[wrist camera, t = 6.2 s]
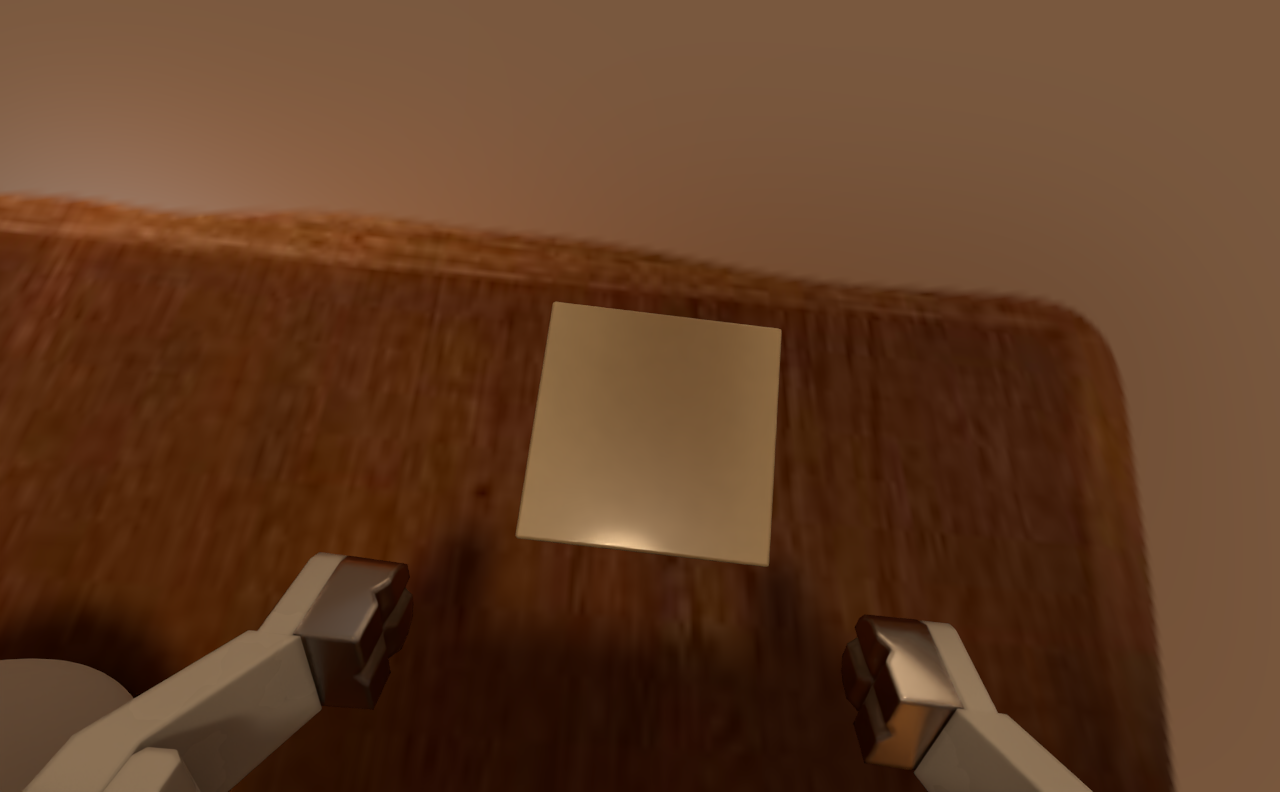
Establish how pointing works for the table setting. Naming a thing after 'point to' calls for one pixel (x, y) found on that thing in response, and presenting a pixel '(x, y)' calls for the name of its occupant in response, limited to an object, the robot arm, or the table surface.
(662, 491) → the plain beige block
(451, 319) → the table surface
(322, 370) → the table surface
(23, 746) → the cup
